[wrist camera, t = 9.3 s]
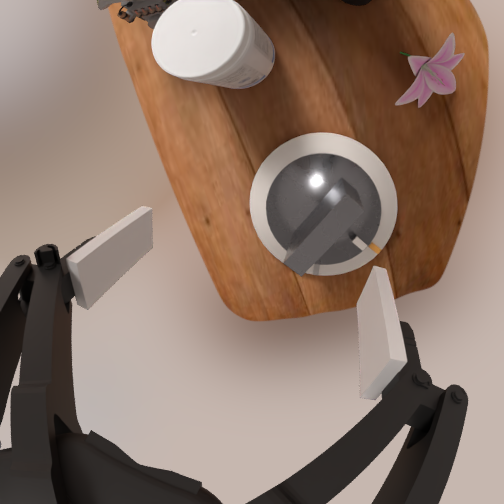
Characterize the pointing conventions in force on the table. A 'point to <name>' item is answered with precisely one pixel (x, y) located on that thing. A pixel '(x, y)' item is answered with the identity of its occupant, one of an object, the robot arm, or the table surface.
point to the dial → (322, 210)
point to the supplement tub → (212, 44)
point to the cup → (356, 2)
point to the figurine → (140, 9)
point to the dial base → (332, 145)
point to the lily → (432, 74)
